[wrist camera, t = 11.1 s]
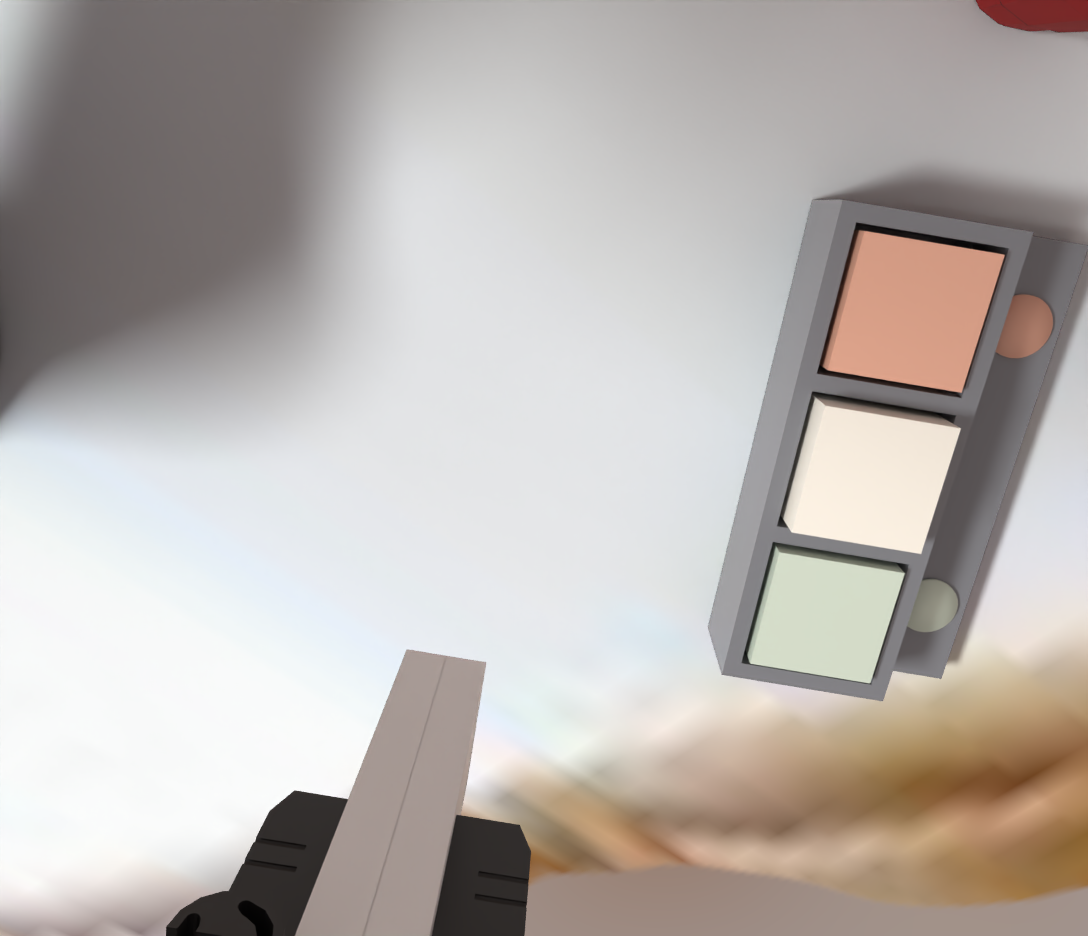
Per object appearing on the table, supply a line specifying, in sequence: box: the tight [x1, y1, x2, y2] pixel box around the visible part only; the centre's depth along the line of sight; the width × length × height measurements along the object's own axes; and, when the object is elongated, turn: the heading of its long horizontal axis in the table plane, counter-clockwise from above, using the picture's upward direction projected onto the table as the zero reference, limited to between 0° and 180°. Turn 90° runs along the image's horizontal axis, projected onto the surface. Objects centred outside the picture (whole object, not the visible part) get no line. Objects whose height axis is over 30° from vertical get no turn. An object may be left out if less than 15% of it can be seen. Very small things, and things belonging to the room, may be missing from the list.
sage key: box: [745, 542, 905, 683], centre depth 43 cm, size 6×6×3 cm
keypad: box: [708, 200, 1088, 701], centre depth 42 cm, size 13×23×5 cm, turn 171°
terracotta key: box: [819, 230, 1005, 393], centre depth 38 cm, size 6×6×3 cm
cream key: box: [780, 392, 961, 554], centre depth 40 cm, size 6×6×3 cm
